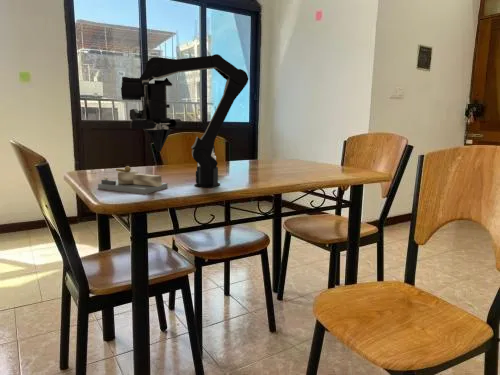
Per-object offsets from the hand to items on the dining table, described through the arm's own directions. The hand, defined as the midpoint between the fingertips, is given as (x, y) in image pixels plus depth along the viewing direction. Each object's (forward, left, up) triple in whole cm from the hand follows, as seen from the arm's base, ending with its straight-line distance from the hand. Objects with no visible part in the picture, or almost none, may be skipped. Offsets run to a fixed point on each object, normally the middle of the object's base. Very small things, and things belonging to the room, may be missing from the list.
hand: (158, 151), depth 120 cm
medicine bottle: (0, -29, -12) cm, 31 cm away
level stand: (+6, +6, -11) cm, 14 cm away
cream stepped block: (+3, +7, -10) cm, 12 cm away
